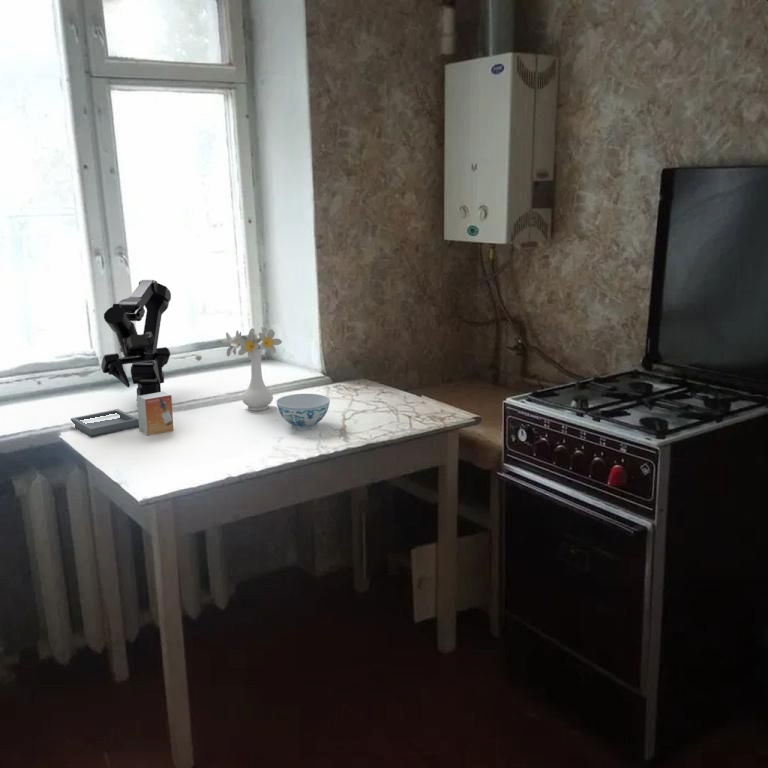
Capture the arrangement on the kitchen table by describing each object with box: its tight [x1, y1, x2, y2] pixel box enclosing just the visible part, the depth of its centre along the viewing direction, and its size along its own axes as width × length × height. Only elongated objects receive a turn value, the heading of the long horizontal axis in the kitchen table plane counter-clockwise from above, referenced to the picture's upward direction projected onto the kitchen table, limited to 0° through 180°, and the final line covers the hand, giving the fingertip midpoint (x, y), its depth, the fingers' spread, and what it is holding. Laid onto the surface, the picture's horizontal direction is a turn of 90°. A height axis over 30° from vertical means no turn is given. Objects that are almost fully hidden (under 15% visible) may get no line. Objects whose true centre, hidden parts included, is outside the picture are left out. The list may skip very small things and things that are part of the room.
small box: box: [136, 390, 174, 436], centre depth 225 cm, size 8×6×10 cm
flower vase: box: [221, 326, 283, 412], centre depth 244 cm, size 13×18×25 cm
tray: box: [70, 408, 139, 439], centre depth 229 cm, size 14×14×2 cm
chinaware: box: [276, 393, 331, 431], centre depth 228 cm, size 15×15×8 cm
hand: (145, 384), depth 228 cm, fingers open, 9 cm apart
